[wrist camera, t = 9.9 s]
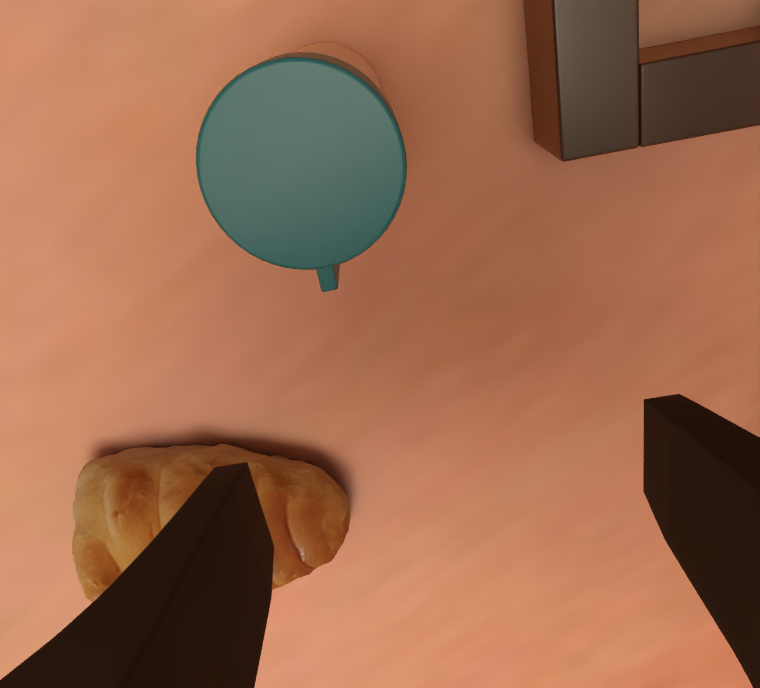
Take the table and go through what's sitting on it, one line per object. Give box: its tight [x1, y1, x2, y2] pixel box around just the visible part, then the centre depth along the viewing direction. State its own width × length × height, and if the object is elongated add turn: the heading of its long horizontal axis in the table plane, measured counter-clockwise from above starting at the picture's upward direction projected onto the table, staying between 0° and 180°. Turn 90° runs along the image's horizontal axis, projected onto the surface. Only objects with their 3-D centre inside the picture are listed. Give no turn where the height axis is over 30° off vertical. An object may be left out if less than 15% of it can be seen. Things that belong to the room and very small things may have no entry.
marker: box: [196, 43, 407, 292], centre depth 15 cm, size 3×4×9 cm
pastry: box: [72, 444, 351, 602], centre depth 23 cm, size 9×7×4 cm
